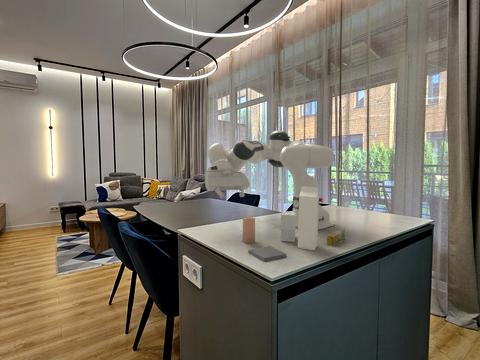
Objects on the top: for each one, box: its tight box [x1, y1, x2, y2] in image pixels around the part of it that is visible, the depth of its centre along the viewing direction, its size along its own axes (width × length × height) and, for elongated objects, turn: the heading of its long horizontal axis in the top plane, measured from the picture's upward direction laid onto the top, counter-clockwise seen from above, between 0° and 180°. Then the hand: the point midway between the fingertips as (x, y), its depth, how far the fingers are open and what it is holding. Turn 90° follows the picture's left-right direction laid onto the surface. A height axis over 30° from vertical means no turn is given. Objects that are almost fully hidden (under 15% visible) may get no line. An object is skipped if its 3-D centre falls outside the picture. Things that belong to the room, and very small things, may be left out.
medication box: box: [326, 229, 346, 247], centre depth 102 cm, size 12×3×4 cm, turn 140°
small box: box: [280, 210, 296, 243], centre depth 105 cm, size 8×6×10 cm
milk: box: [297, 187, 320, 251], centre depth 95 cm, size 6×6×22 cm
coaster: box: [247, 245, 287, 262], centre depth 87 cm, size 9×9×1 cm
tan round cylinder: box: [242, 216, 256, 244], centre depth 101 cm, size 5×5×9 cm
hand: (232, 196), depth 112 cm, fingers open, 8 cm apart
